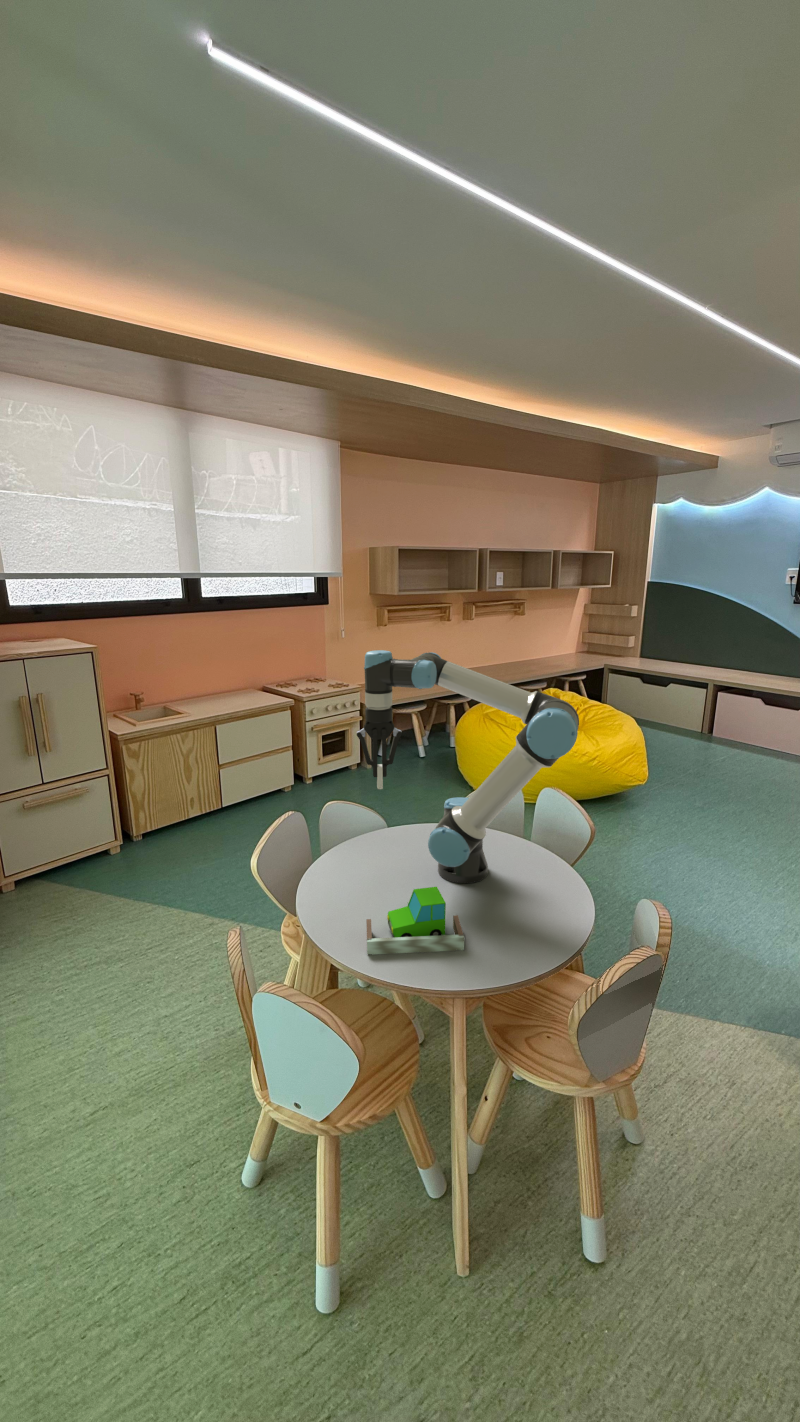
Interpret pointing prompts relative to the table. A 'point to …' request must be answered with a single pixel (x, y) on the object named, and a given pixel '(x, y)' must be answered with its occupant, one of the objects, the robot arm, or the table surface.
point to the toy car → (419, 915)
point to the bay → (416, 942)
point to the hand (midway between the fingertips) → (380, 787)
